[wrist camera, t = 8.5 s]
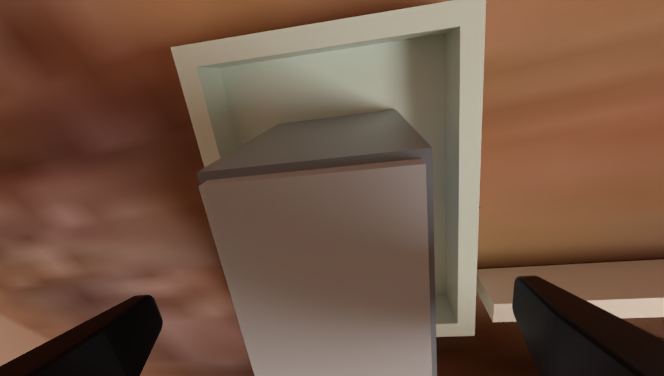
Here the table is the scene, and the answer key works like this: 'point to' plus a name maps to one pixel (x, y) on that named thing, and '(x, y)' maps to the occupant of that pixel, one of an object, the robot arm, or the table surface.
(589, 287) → the bay
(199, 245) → the table surface
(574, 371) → the robot arm
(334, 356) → the grey block
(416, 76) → the tray
